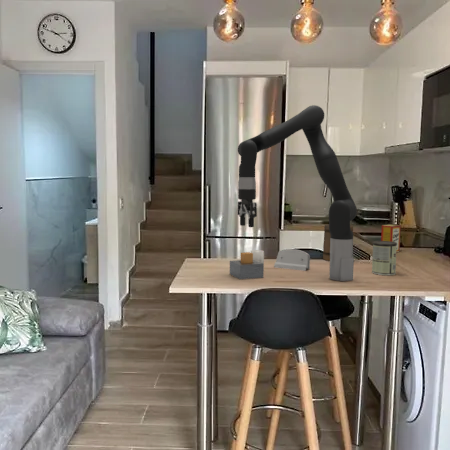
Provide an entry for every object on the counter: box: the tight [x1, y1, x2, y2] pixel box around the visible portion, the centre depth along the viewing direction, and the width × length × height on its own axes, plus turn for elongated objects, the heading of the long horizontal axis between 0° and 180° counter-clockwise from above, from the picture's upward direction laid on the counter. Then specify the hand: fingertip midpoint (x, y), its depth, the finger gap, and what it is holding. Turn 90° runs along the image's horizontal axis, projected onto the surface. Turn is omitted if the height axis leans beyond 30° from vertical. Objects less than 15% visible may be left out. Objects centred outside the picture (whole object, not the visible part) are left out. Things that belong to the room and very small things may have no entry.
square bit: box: [240, 251, 253, 264], centre depth 204 cm, size 4×4×10 cm
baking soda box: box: [380, 224, 402, 252], centre depth 278 cm, size 10×6×16 cm
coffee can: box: [371, 240, 397, 276], centre depth 213 cm, size 10×10×14 cm
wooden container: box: [322, 223, 354, 262], centre depth 249 cm, size 15×15×22 cm
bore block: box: [229, 259, 265, 280], centre depth 205 cm, size 11×11×6 cm
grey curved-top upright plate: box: [273, 248, 311, 272], centre depth 225 cm, size 17×5×10 cm, turn 59°
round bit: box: [250, 249, 265, 265], centre depth 218 cm, size 6×6×9 cm
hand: (246, 226), depth 203 cm, fingers open, 8 cm apart
